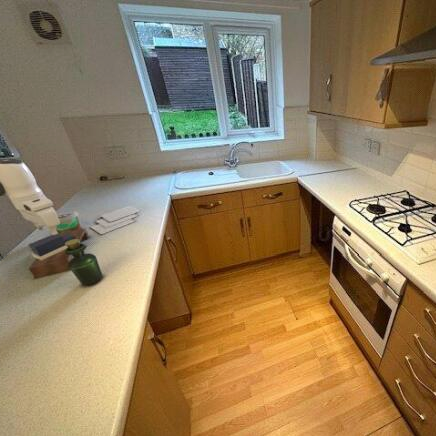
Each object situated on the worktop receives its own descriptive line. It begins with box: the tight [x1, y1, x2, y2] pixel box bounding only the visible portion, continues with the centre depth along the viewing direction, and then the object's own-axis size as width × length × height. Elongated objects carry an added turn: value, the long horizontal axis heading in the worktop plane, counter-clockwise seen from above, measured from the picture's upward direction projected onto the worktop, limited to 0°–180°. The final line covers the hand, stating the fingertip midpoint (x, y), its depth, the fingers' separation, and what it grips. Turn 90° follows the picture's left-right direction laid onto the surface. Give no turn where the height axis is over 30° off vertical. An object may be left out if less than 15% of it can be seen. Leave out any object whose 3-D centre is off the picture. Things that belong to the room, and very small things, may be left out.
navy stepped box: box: [27, 233, 81, 260], centre depth 101 cm, size 14×6×6 cm, turn 156°
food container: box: [56, 210, 82, 234], centre depth 122 cm, size 12×6×10 cm, turn 129°
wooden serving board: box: [28, 228, 90, 279], centre depth 106 cm, size 12×28×5 cm, turn 26°
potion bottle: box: [65, 239, 104, 287], centre depth 88 cm, size 8×8×18 cm
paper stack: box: [90, 205, 141, 235], centre depth 137 cm, size 23×25×1 cm
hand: (48, 231), depth 98 cm, fingers open, 8 cm apart
